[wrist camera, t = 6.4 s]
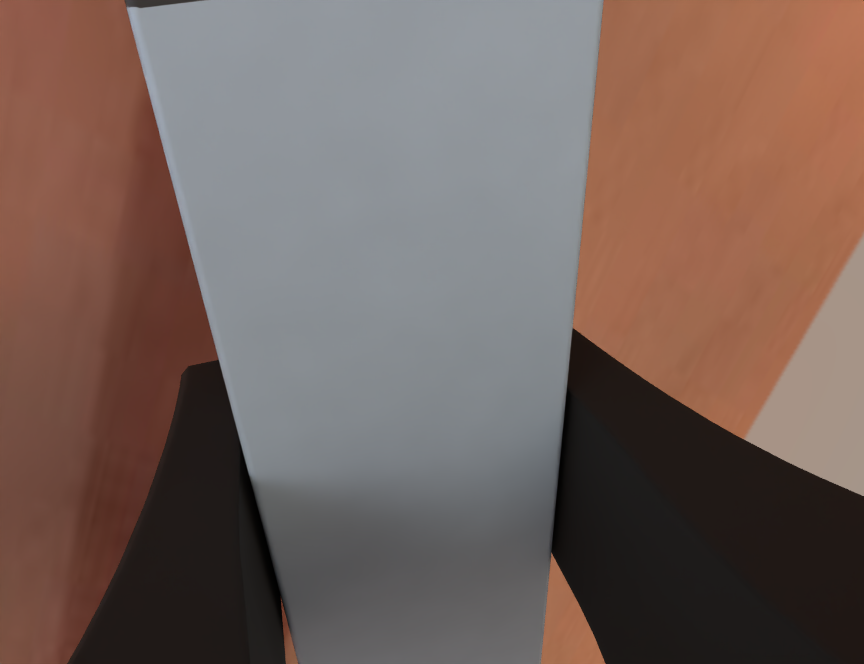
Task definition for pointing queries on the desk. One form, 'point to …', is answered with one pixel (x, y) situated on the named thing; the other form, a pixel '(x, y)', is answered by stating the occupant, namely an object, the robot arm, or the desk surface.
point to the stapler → (388, 295)
